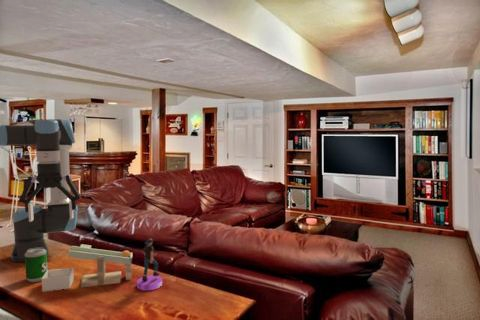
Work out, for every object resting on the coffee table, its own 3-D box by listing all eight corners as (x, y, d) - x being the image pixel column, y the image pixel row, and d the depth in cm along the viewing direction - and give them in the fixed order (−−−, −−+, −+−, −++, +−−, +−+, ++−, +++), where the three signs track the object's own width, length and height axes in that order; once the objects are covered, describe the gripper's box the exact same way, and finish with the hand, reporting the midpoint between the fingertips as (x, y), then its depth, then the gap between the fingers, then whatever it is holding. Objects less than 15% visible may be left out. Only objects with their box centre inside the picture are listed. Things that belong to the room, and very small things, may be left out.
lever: (74, 245, 146) (75, 238, 146) (131, 252, 153) (133, 246, 153) (67, 257, 132) (69, 249, 132) (130, 264, 139) (132, 257, 139)
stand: (84, 278, 141) (83, 251, 140) (131, 273, 146) (130, 247, 145) (80, 287, 133) (79, 259, 132) (131, 281, 138) (130, 254, 137)
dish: (47, 282, 138) (47, 270, 137) (73, 279, 140) (73, 267, 140) (42, 291, 130) (41, 278, 130) (69, 288, 132) (69, 275, 132)
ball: (120, 257, 142) (122, 248, 142) (129, 258, 143) (131, 249, 143) (120, 260, 139) (122, 251, 139) (129, 261, 140) (131, 252, 140)
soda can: (38, 284, 137) (36, 253, 136) (21, 282, 138) (19, 252, 137) (52, 276, 144) (50, 247, 143) (36, 274, 146) (34, 246, 145)
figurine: (167, 282, 138) (166, 236, 136) (151, 292, 129) (150, 244, 128) (148, 278, 142) (146, 233, 140) (131, 287, 133) (130, 240, 132)
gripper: (5, 164, 122) (9, 224, 125) (83, 162, 129) (86, 219, 131) (14, 162, 130) (17, 219, 132) (87, 160, 136) (89, 214, 138)
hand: (51, 219), depth 131 cm, fingers open, 13 cm apart
